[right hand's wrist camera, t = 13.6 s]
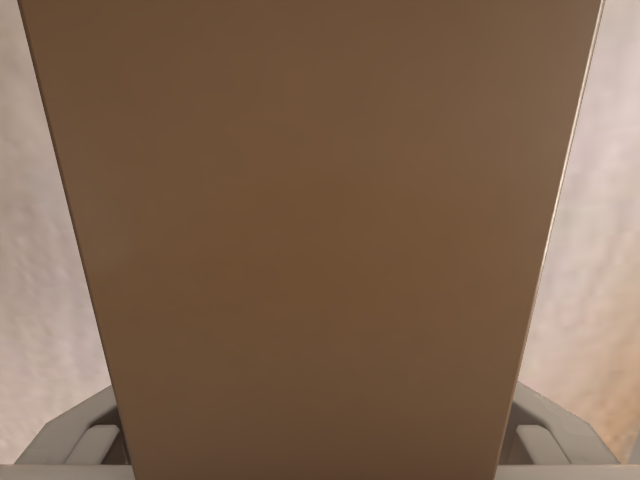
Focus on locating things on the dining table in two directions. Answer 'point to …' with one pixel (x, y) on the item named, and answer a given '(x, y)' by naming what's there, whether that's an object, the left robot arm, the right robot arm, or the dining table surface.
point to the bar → (312, 220)
